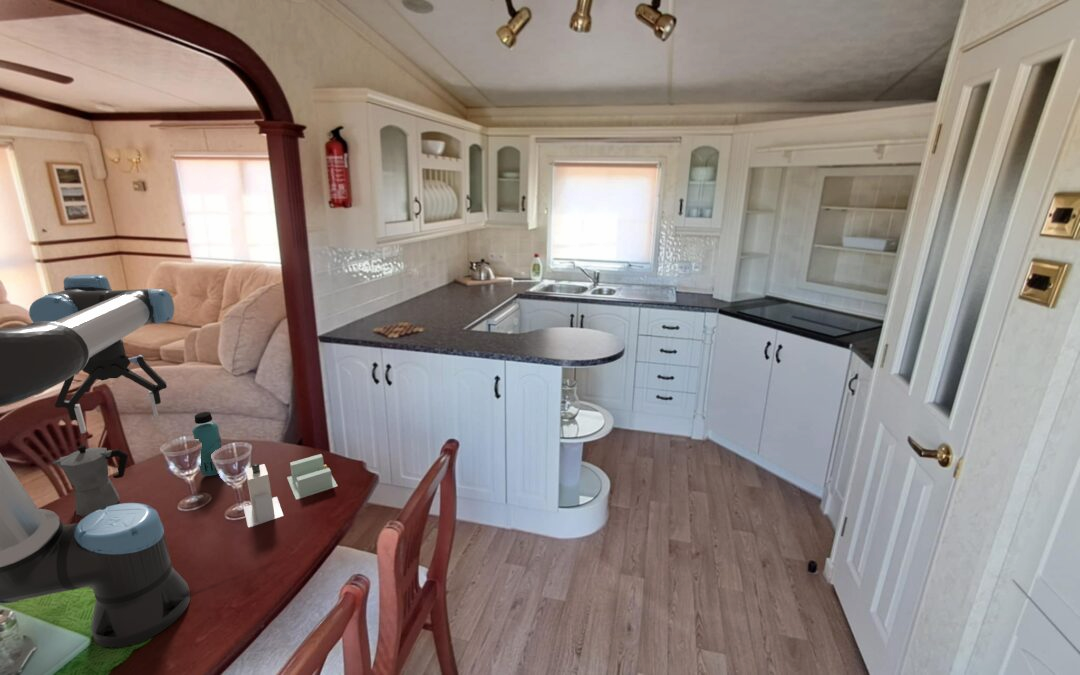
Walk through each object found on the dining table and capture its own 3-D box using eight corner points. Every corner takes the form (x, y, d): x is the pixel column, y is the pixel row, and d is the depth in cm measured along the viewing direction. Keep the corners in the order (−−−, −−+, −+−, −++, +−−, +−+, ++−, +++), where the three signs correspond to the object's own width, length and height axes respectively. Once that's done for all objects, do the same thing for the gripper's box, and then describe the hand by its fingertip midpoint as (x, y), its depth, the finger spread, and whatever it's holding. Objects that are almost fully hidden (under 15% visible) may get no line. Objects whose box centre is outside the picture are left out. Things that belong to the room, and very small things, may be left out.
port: (338, 489, 136) (336, 470, 135) (296, 502, 130) (293, 483, 128) (326, 468, 146) (324, 451, 144) (287, 480, 140) (284, 462, 138)
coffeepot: (56, 521, 120) (36, 459, 115) (76, 499, 129) (59, 441, 123) (130, 509, 125) (115, 449, 120) (145, 489, 134) (131, 432, 129)
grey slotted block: (284, 518, 123) (280, 492, 121) (248, 530, 119) (243, 503, 116) (277, 499, 131) (273, 474, 129) (243, 510, 126) (239, 484, 124)
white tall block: (274, 514, 124) (266, 467, 120) (255, 520, 121) (246, 473, 117) (270, 502, 128) (263, 457, 124) (252, 508, 126) (243, 462, 121)
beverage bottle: (203, 483, 137) (190, 421, 131) (199, 473, 142) (186, 413, 136) (229, 475, 141) (218, 414, 136) (225, 466, 146) (213, 407, 140)
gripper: (167, 329, 121) (182, 405, 127) (27, 346, 106) (52, 431, 112) (168, 336, 116) (184, 415, 122) (21, 354, 100) (47, 444, 106)
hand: (121, 423), depth 117 cm, fingers open, 13 cm apart
